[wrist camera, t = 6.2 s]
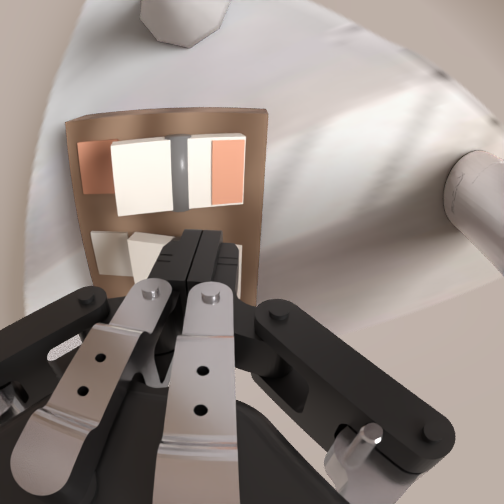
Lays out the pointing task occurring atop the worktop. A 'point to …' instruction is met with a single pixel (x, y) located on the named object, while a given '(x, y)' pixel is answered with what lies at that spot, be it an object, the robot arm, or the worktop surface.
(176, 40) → the flask
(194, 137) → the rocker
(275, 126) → the worktop surface
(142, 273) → the rocker
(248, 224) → the switch unit
